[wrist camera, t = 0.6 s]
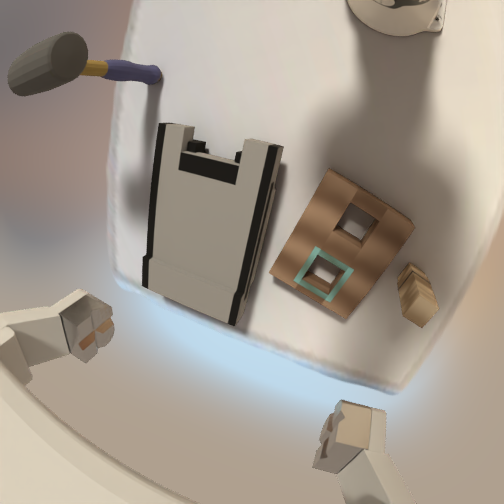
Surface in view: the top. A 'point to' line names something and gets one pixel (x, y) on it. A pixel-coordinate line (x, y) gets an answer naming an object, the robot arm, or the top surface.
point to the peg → (416, 296)
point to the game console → (207, 221)
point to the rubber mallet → (69, 66)
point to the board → (341, 245)
